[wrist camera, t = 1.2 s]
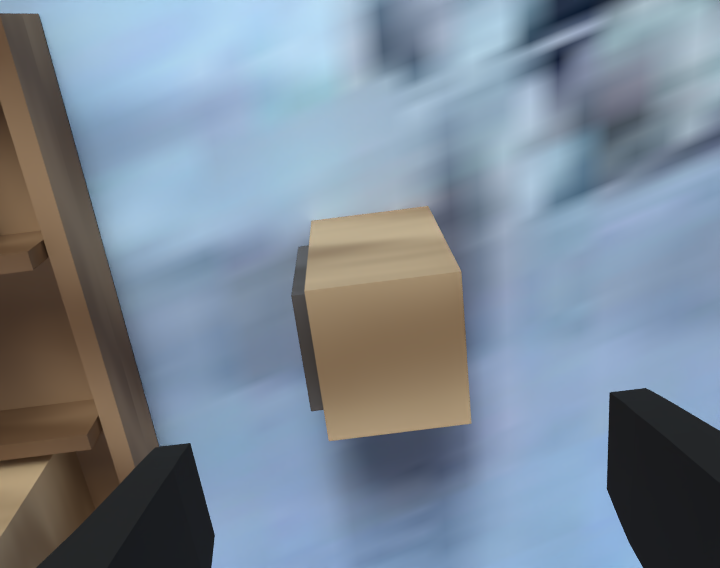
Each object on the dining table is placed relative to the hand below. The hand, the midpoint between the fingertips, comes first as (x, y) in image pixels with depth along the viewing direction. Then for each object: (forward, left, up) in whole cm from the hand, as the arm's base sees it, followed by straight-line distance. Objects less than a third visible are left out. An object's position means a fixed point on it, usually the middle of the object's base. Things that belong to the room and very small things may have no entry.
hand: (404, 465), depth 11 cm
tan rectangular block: (0, 0, -10) cm, 10 cm away
